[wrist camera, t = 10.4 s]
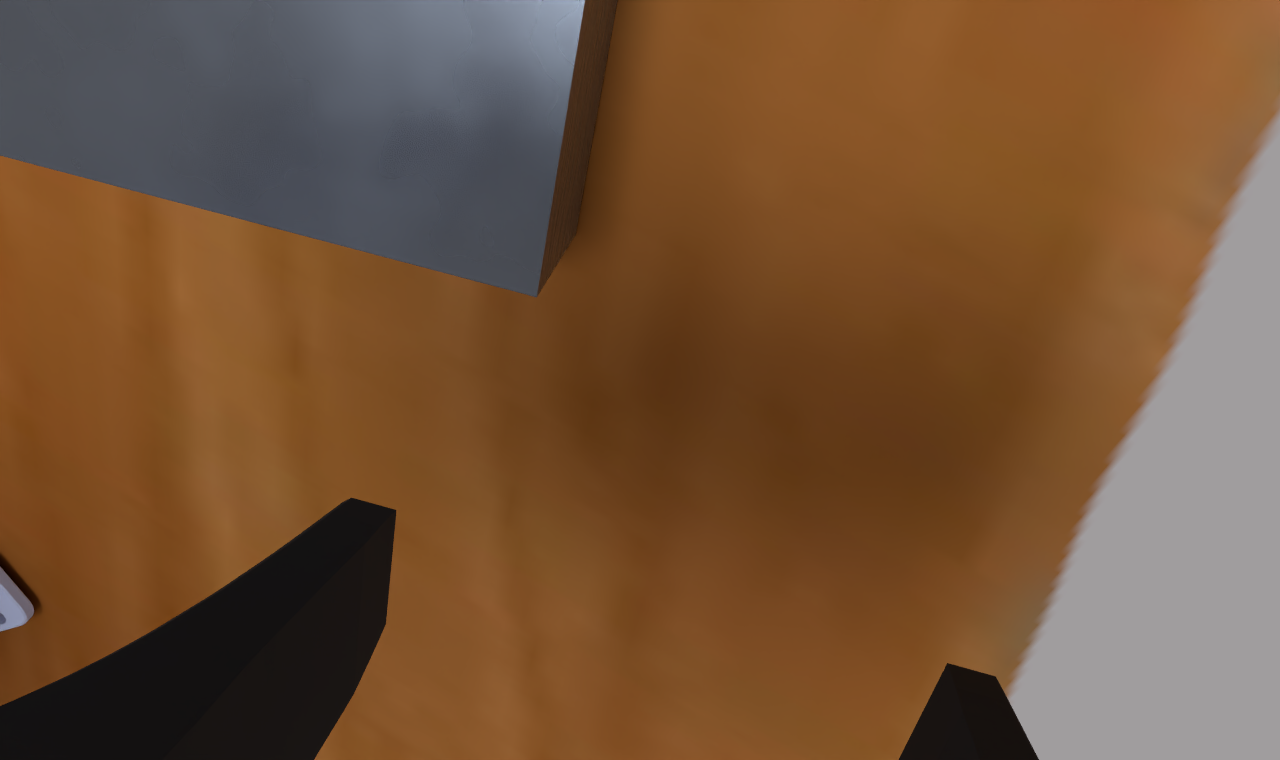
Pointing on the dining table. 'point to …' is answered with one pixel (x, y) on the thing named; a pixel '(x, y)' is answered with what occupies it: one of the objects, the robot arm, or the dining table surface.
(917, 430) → the dining table surface
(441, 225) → the bore block
